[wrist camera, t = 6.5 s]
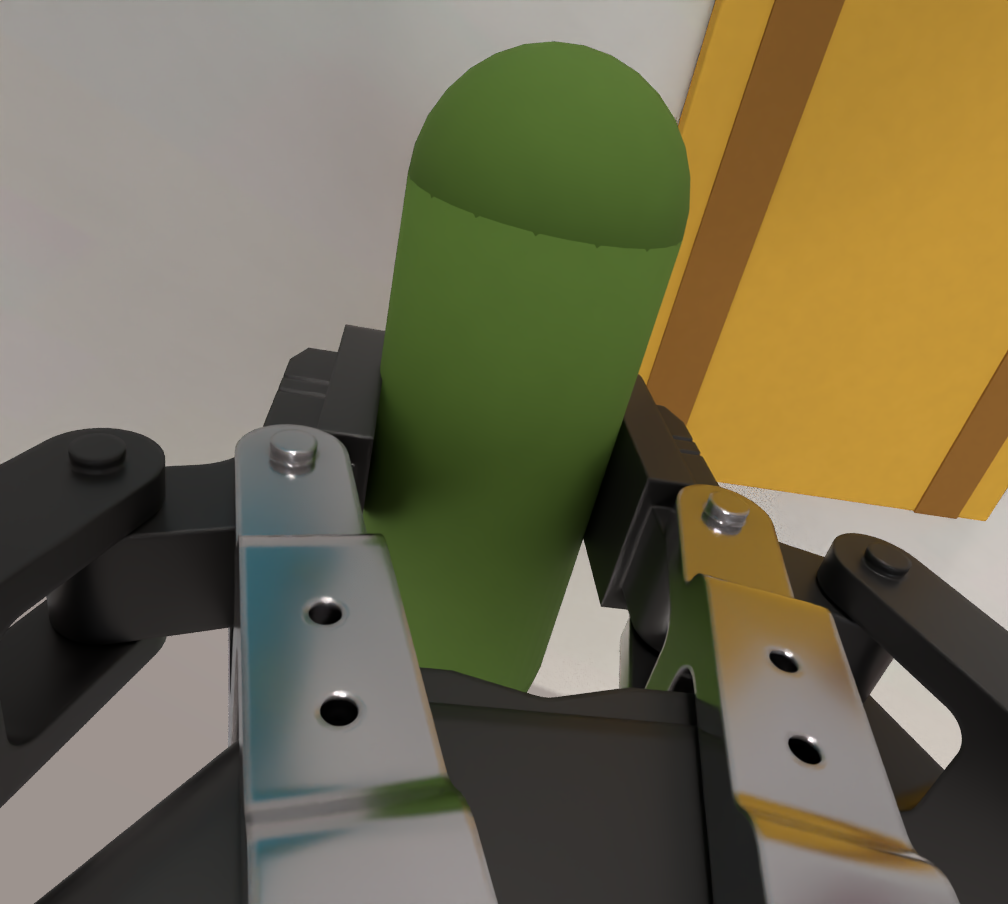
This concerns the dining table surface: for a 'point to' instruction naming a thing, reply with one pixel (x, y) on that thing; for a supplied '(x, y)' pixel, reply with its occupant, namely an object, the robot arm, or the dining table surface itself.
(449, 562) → the pickle
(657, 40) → the dining table surface
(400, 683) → the robot arm
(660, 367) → the towel
